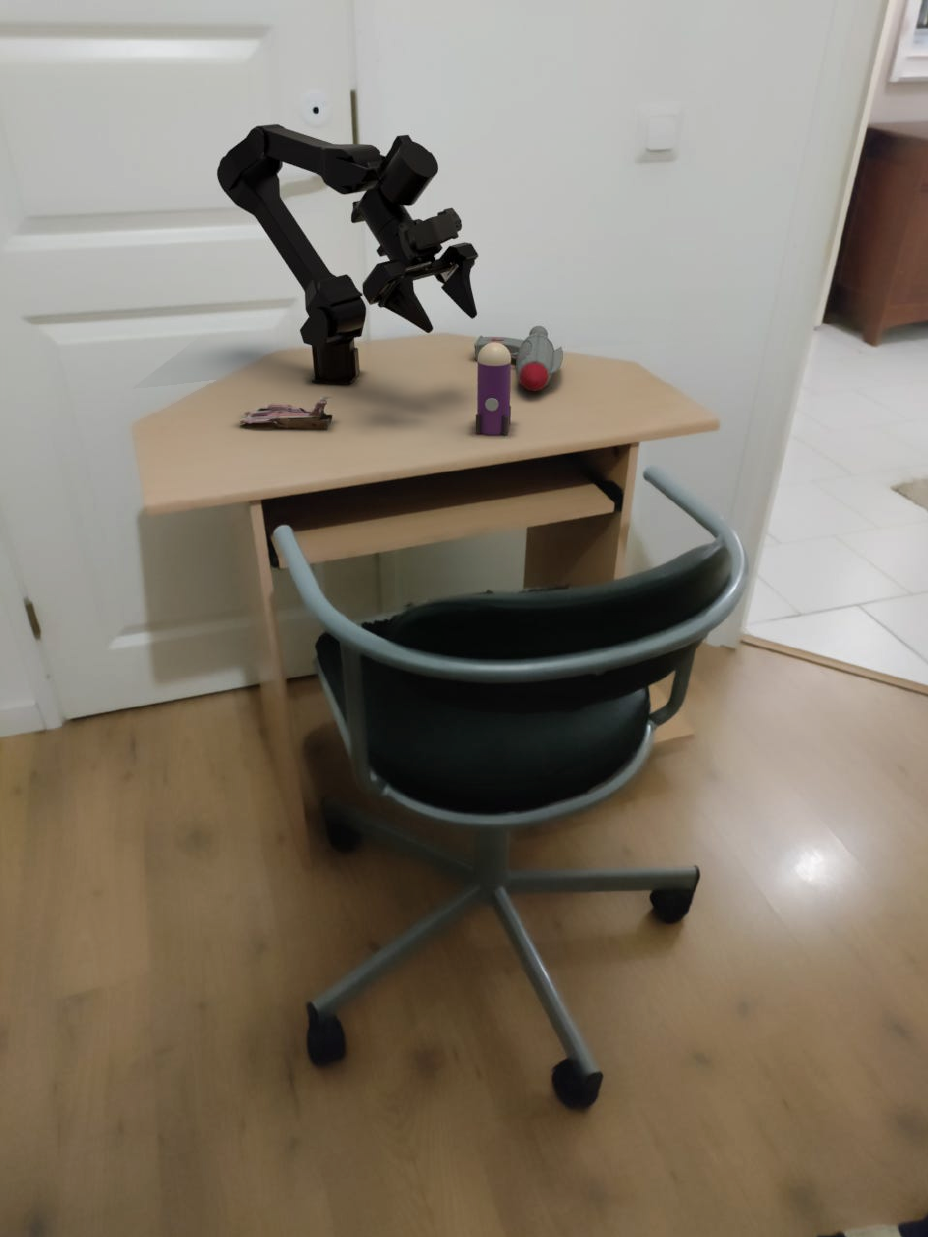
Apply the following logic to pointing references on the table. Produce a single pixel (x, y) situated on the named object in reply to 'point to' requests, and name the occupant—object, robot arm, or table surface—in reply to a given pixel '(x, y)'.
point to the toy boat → (291, 415)
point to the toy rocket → (493, 390)
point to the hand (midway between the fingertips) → (453, 323)
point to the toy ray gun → (529, 356)
